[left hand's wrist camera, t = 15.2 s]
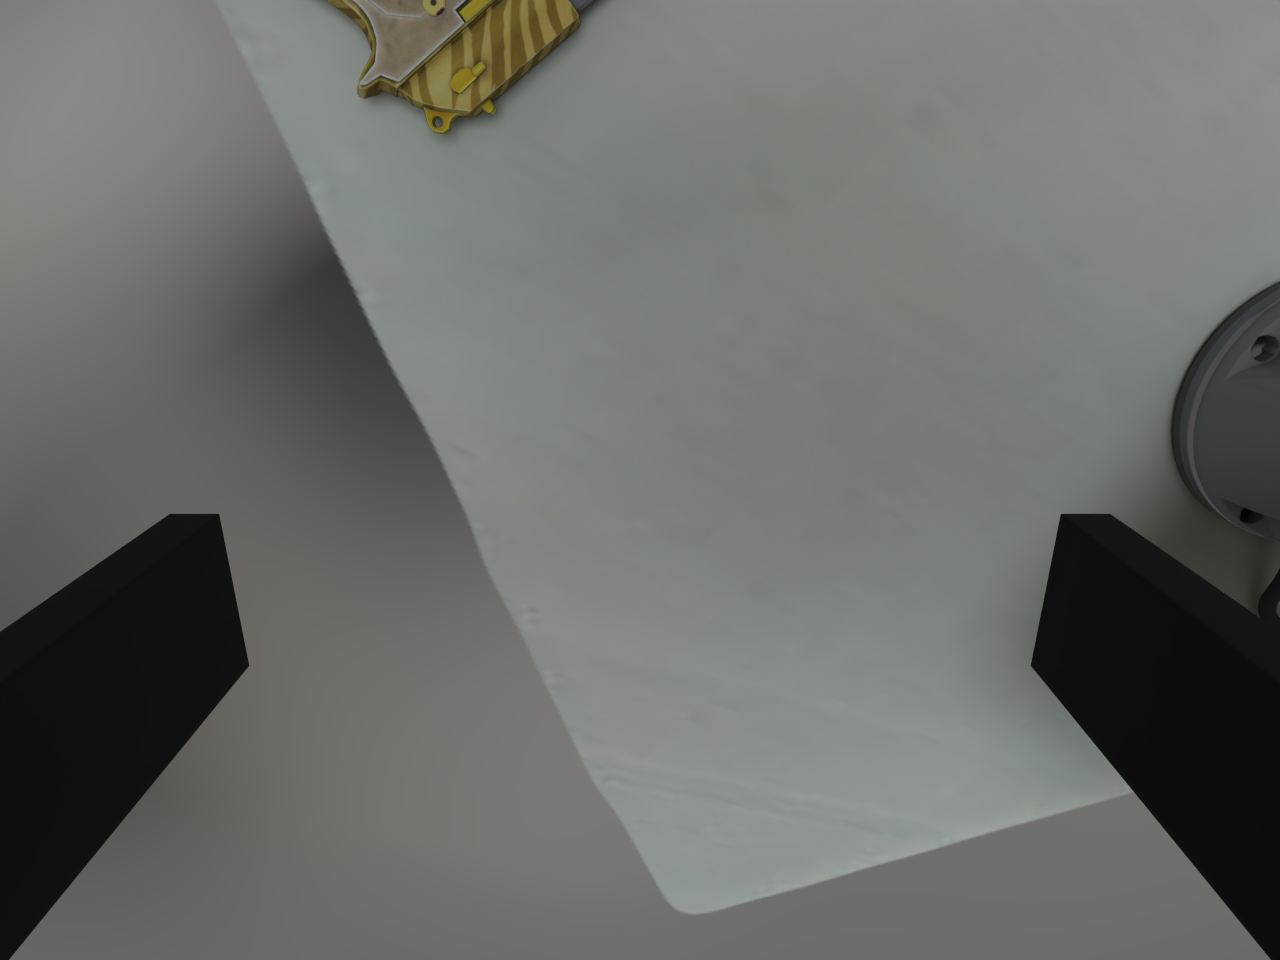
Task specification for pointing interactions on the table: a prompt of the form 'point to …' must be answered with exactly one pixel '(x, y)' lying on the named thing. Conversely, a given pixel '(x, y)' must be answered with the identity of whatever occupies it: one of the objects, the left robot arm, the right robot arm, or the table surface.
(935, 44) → the table surface
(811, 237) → the table surface
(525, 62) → the handgun
